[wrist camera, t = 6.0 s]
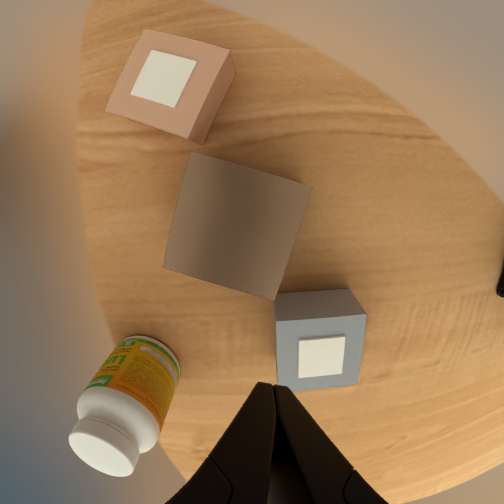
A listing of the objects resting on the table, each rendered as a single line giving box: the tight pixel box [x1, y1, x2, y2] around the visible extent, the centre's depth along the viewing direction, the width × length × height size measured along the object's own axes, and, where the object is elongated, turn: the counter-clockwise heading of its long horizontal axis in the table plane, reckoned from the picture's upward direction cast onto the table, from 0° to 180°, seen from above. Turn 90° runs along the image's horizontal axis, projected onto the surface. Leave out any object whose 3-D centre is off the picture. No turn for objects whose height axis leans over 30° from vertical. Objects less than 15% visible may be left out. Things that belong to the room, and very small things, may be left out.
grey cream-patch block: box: [273, 288, 367, 391], centre depth 18 cm, size 5×5×4 cm
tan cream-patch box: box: [105, 29, 236, 145], centre depth 15 cm, size 5×5×4 cm
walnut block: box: [162, 152, 312, 300], centre depth 17 cm, size 6×6×4 cm
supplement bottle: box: [69, 336, 180, 477], centre depth 17 cm, size 5×5×10 cm
